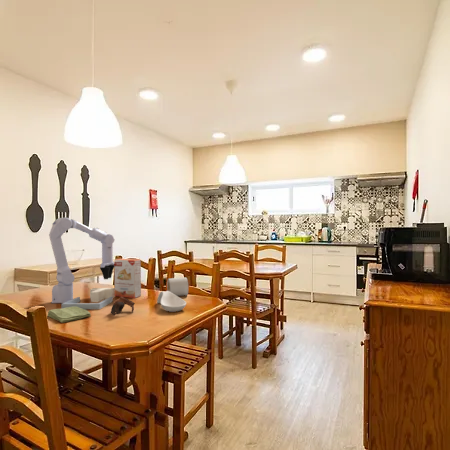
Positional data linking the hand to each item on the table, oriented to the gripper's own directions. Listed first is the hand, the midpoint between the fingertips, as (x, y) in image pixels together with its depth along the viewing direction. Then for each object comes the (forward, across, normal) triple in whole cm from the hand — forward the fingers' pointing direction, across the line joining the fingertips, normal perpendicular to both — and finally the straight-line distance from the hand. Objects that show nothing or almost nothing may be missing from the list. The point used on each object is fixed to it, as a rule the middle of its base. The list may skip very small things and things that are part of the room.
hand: (107, 278), depth 182 cm
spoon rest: (+10, -30, -42) cm, 52 cm away
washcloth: (+10, -44, -1) cm, 46 cm away
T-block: (+9, -11, 0) cm, 14 cm away
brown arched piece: (+10, -40, -22) cm, 47 cm away
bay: (+9, -24, 0) cm, 26 cm away
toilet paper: (+10, -3, -41) cm, 42 cm away
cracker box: (+10, -4, -13) cm, 17 cm away
